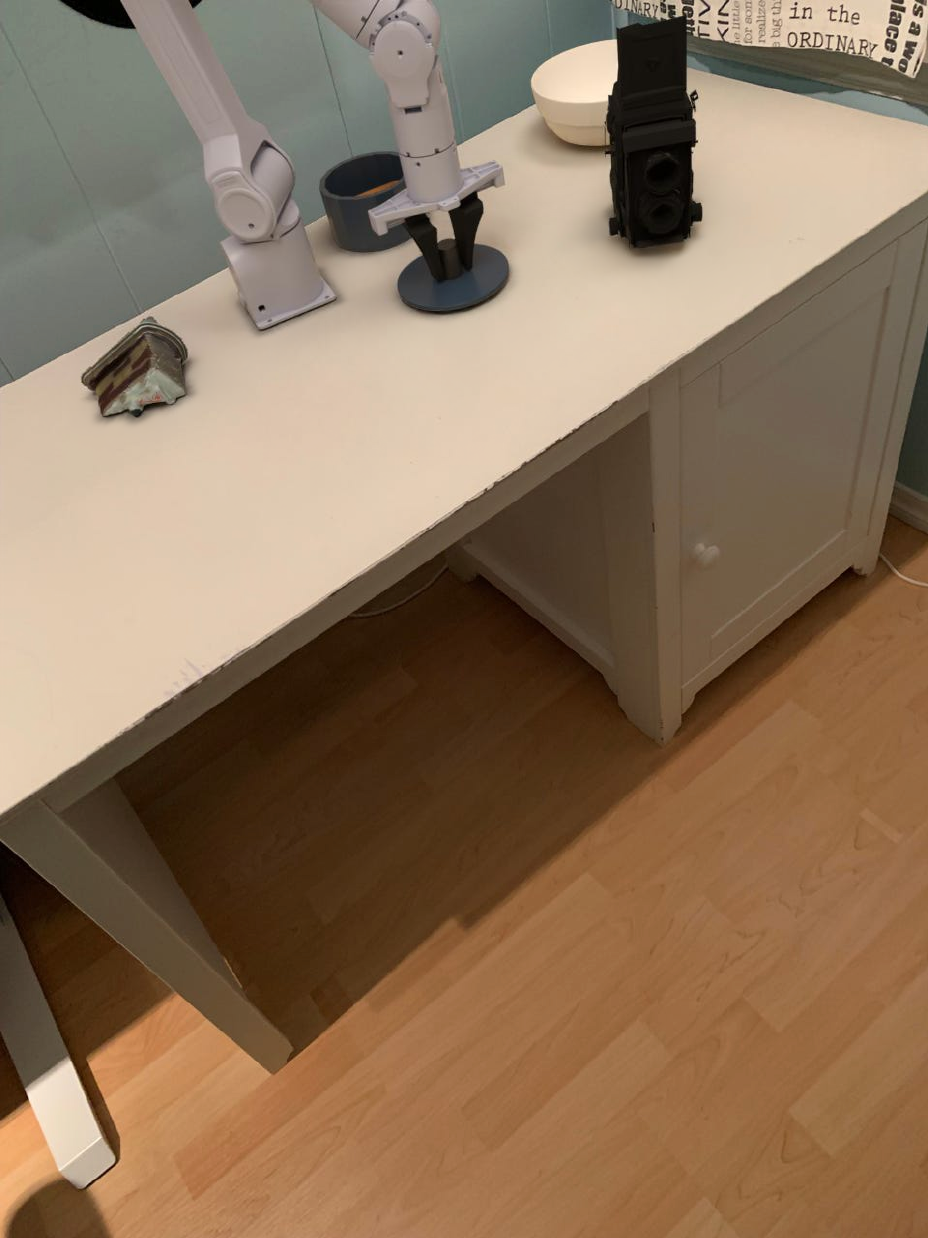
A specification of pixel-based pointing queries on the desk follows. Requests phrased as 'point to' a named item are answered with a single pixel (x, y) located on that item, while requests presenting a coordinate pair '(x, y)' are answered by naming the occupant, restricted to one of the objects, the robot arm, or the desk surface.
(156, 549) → the desk surface
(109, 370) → the chocolate cake
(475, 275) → the lid
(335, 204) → the pot
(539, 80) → the bowl
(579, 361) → the desk surface
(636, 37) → the camera
